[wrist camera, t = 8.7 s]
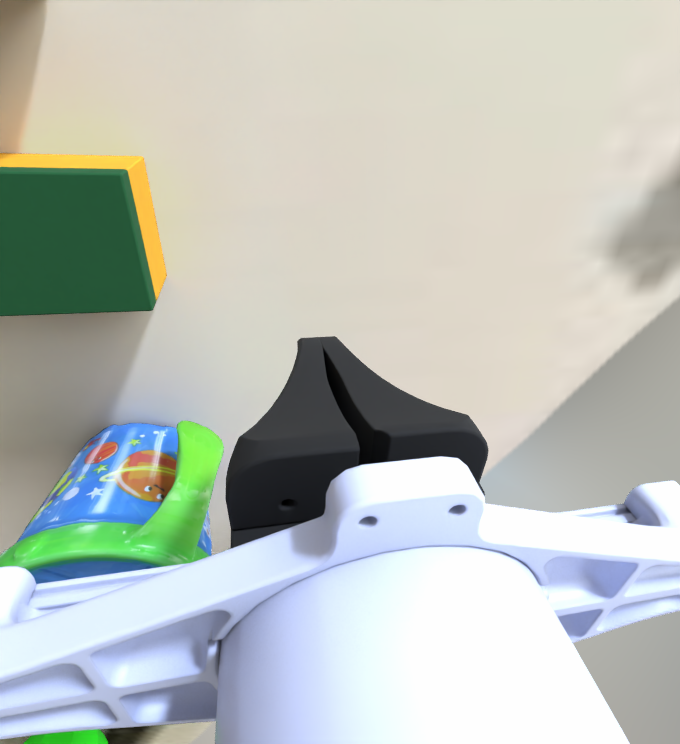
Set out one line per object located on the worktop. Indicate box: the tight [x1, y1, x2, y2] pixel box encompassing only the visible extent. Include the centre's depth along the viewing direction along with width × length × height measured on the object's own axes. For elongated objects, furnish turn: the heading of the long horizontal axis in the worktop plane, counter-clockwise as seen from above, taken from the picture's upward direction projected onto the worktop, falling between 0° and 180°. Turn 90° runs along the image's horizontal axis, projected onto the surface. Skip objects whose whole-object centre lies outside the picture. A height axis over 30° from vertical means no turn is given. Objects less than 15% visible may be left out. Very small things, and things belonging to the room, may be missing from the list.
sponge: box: [0, 153, 167, 316], centre depth 18 cm, size 8×6×4 cm
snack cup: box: [0, 421, 224, 584], centre depth 24 cm, size 16×10×10 cm
